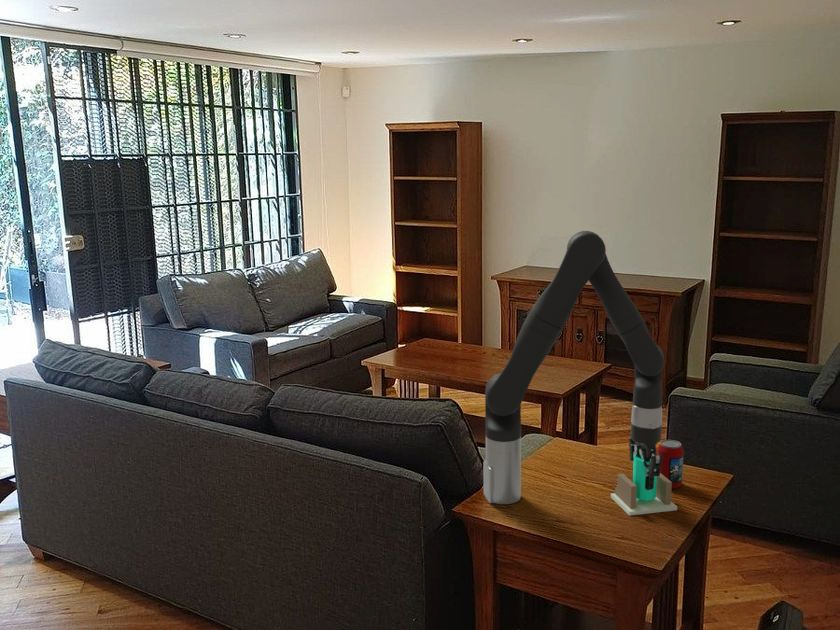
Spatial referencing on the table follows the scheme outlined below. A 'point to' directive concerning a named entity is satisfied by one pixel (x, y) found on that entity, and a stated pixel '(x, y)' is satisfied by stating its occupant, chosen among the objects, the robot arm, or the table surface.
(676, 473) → the beverage can
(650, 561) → the table surface
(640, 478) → the candle
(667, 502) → the holder
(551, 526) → the table surface
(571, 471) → the table surface
